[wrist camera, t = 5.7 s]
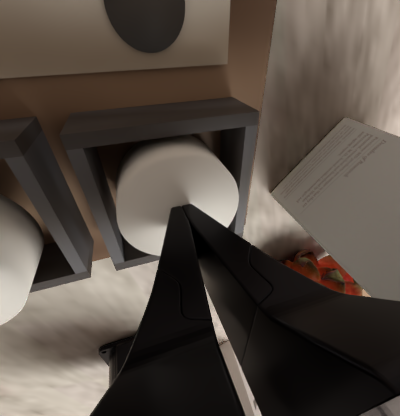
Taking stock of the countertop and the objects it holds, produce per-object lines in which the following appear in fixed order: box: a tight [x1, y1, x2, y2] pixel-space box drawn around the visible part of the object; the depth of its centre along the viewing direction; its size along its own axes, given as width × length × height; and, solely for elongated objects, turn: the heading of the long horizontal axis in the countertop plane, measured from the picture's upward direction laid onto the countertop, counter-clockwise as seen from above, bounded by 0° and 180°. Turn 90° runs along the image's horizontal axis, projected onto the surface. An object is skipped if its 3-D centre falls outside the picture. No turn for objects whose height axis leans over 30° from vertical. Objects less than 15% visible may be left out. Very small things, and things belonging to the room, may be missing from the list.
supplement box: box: [271, 117, 400, 301], centre depth 14 cm, size 7×7×13 cm
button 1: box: [116, 134, 239, 256], centre depth 10 cm, size 5×5×2 cm
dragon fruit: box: [281, 250, 363, 296], centre depth 23 cm, size 8×8×12 cm
